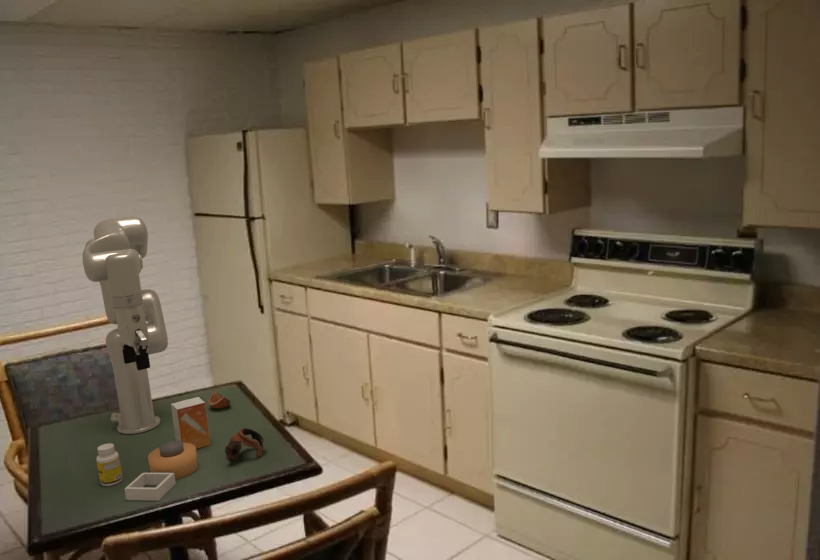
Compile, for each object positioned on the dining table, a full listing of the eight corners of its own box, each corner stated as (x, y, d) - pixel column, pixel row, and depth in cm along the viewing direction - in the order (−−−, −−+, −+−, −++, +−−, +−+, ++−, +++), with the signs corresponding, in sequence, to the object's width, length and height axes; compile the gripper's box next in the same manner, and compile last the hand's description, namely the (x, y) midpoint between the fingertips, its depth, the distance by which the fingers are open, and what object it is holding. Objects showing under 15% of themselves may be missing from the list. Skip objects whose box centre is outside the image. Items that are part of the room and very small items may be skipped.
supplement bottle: (100, 480, 191) (94, 445, 189) (122, 475, 193) (116, 440, 191) (100, 488, 186) (94, 452, 184) (123, 483, 188) (117, 447, 186)
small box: (182, 453, 204) (176, 409, 201) (176, 446, 209) (169, 403, 207) (211, 445, 208) (205, 401, 206) (204, 438, 213) (198, 396, 211)
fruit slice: (235, 408, 236) (233, 394, 235) (214, 414, 232) (212, 399, 231) (225, 402, 243) (223, 387, 242) (205, 407, 239) (203, 393, 238)
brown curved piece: (235, 449, 206) (247, 423, 205) (261, 467, 203) (273, 441, 202) (210, 457, 194) (222, 429, 193) (237, 476, 191) (250, 448, 190)
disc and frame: (119, 499, 179) (115, 473, 178) (165, 459, 201) (161, 435, 199) (165, 500, 177) (161, 473, 176) (205, 460, 199) (202, 435, 197)
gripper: (153, 302, 183) (163, 367, 186) (130, 295, 196) (140, 356, 199) (123, 307, 179) (134, 375, 181) (101, 300, 192) (112, 363, 195)
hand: (137, 365), depth 190 cm, fingers open, 9 cm apart
